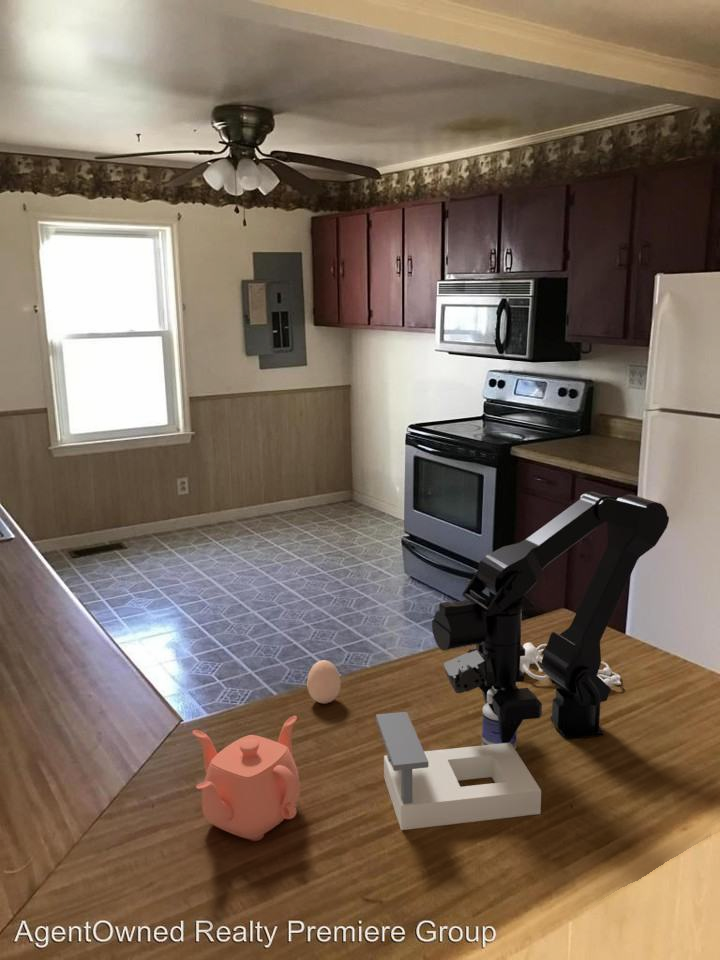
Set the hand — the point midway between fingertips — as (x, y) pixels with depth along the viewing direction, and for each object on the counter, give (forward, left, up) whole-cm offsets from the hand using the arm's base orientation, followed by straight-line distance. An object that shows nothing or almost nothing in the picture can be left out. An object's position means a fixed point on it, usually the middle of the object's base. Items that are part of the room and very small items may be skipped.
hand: (499, 732), depth 121 cm
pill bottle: (0, 0, -2) cm, 2 cm away
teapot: (+39, +10, -2) cm, 40 cm away
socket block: (+10, +11, -2) cm, 15 cm away
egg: (+25, -19, -2) cm, 31 cm away
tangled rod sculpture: (-20, -22, -3) cm, 30 cm away
